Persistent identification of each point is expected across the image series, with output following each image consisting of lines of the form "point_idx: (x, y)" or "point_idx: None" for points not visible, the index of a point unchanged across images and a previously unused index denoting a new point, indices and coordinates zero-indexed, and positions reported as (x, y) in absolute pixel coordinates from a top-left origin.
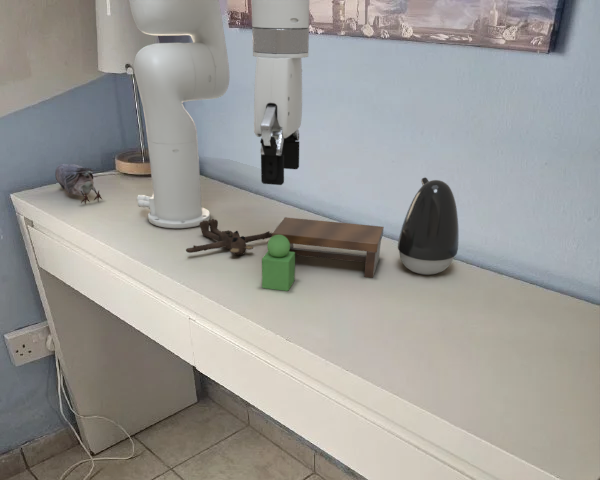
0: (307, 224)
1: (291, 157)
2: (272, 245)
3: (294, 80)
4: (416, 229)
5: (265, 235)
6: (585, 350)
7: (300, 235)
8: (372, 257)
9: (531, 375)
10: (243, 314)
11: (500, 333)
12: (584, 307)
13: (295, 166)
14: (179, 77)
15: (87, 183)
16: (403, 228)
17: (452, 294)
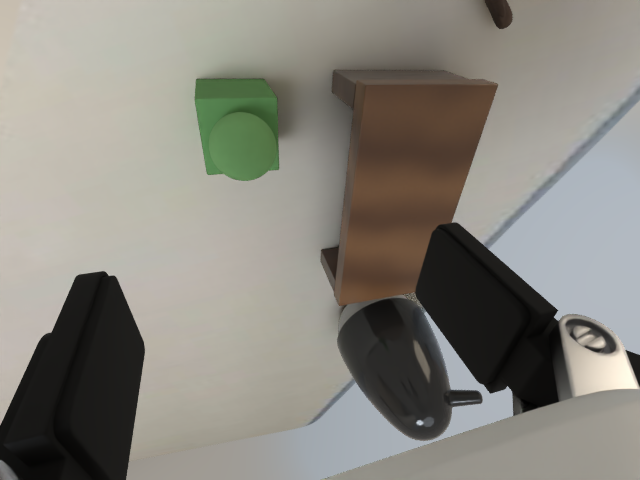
0: (439, 160)
1: (445, 309)
2: (212, 141)
3: None
4: (365, 361)
5: (492, 4)
6: (196, 444)
7: (359, 167)
8: (330, 282)
9: None
10: (12, 76)
11: (198, 401)
12: (295, 424)
13: (419, 295)
14: None
15: None
16: (387, 335)
17: (290, 347)
